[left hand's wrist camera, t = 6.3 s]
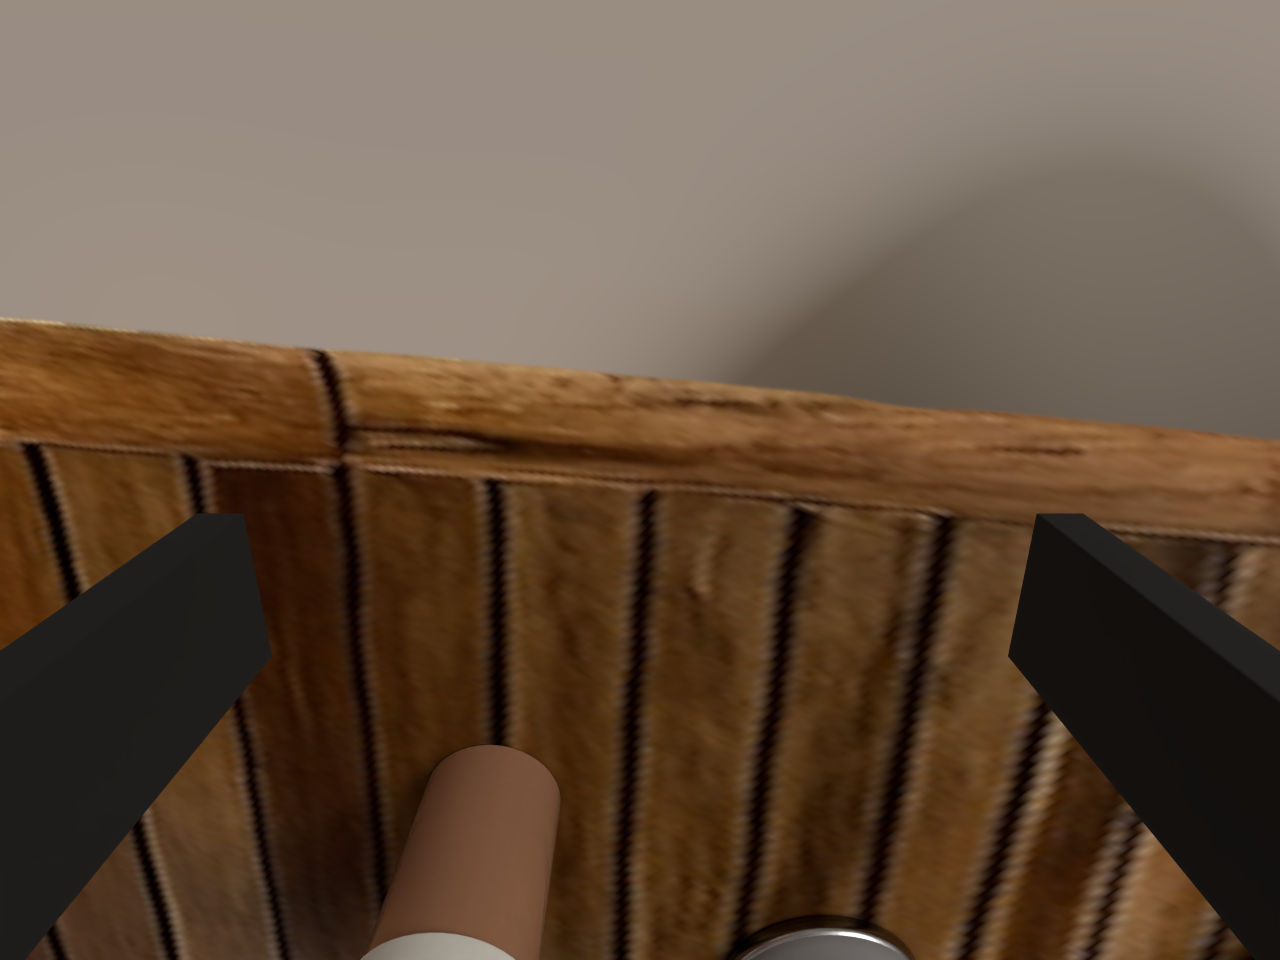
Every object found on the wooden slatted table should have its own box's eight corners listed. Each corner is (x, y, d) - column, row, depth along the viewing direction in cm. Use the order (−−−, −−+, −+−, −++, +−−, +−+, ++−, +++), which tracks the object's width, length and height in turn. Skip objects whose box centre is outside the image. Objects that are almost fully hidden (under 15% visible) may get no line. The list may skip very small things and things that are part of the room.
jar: (398, 782, 49) (301, 1015, 35) (507, 722, 48) (452, 941, 33) (480, 868, 52) (421, 1117, 38) (586, 814, 50) (566, 1053, 36)
